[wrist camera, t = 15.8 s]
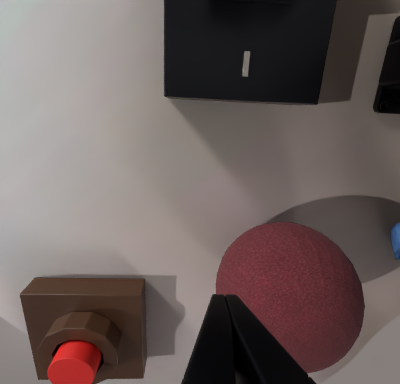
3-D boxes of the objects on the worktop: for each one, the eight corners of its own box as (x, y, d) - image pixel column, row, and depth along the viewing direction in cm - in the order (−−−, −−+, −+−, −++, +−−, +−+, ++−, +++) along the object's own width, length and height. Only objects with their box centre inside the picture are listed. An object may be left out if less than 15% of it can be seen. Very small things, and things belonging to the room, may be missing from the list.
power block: (144, 278, 24) (136, 311, 20) (146, 357, 27) (139, 399, 23) (34, 277, 23) (4, 310, 19) (49, 358, 26) (26, 400, 22)
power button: (99, 338, 21) (92, 358, 19) (102, 369, 22) (96, 390, 20) (55, 338, 21) (43, 358, 19) (60, 370, 22) (50, 391, 20)
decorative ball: (269, 179, 21) (335, 237, 12) (338, 249, 23) (440, 344, 14) (187, 256, 23) (187, 360, 14) (260, 313, 25) (302, 435, 16)
